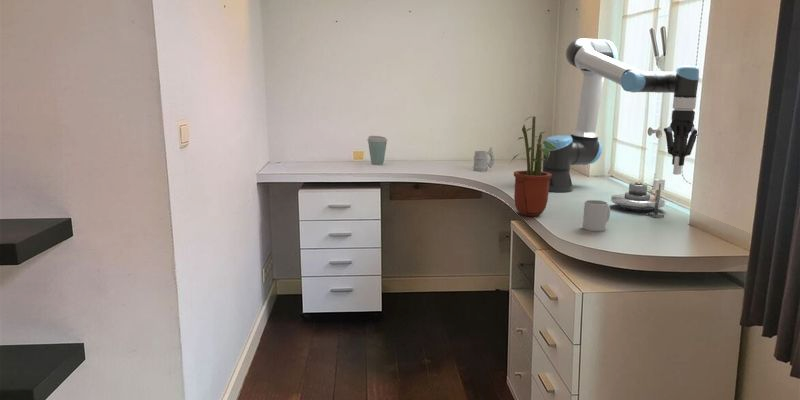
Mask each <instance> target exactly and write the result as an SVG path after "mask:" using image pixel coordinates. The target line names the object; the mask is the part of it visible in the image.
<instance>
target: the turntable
mask: <svg viewBox="0 0 800 400" xmlns="http://www.w3.org/2000/svg"><path fill="white" fill-rule="evenodd" d="M654 191H655V193H654V196H651V195H650V200H649V201H633V200H628V199H625V198H624V197H625V193H623V194H621V193H619V194H614V195H611V197H610V201H611V203H613V204H616V205H619V206H622V205H623V206H628V207H636V208H652V209H655V202H656V193H657V190H654ZM661 196H662V190H660V198H659V207H658V209H659V208H663V207H665V202H666V201H665V199H663V198H661Z"/></svg>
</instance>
